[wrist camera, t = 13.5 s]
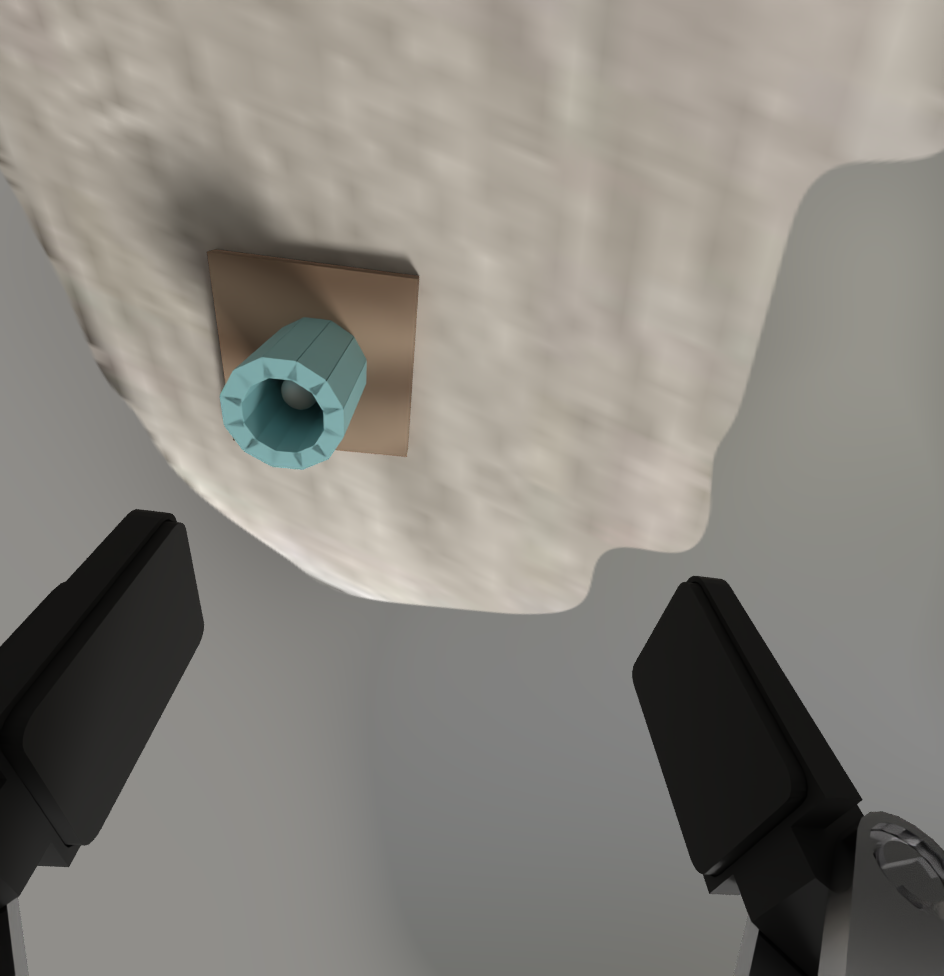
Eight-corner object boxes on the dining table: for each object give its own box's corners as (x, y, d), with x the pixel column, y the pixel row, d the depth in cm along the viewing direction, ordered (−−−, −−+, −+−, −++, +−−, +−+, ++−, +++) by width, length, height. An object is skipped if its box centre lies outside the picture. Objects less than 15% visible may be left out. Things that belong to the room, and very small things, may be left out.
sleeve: (267, 312, 30) (213, 351, 23) (367, 324, 31) (343, 366, 24) (275, 404, 33) (229, 462, 26) (365, 414, 34) (343, 473, 27)
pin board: (215, 249, 29) (158, 266, 23) (419, 275, 30) (411, 298, 25) (239, 432, 35) (199, 481, 30) (407, 449, 37) (399, 498, 31)
